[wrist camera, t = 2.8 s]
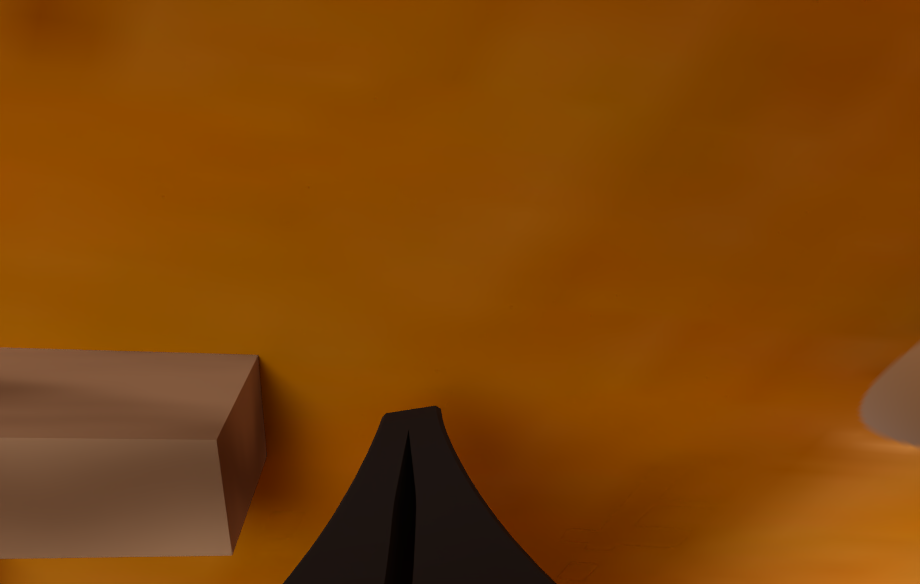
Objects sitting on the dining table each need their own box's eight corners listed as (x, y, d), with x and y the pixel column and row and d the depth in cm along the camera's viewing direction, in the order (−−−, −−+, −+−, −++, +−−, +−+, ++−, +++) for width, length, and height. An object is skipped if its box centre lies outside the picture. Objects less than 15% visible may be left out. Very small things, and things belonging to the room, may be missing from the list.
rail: (268, 451, 18) (232, 555, 14) (-57, 449, 16) (-188, 561, 13) (259, 351, 16) (216, 439, 12) (-103, 340, 15) (-268, 434, 11)
